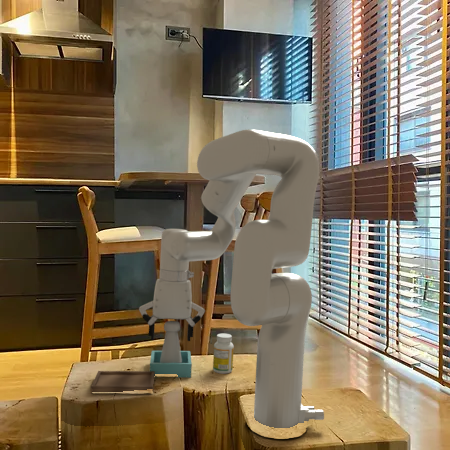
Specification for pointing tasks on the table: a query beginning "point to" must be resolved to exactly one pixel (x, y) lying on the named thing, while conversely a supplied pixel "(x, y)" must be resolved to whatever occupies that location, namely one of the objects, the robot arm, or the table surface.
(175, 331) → the salt shaker
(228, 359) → the supplement bottle
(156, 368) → the collar
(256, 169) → the robot arm
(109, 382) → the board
